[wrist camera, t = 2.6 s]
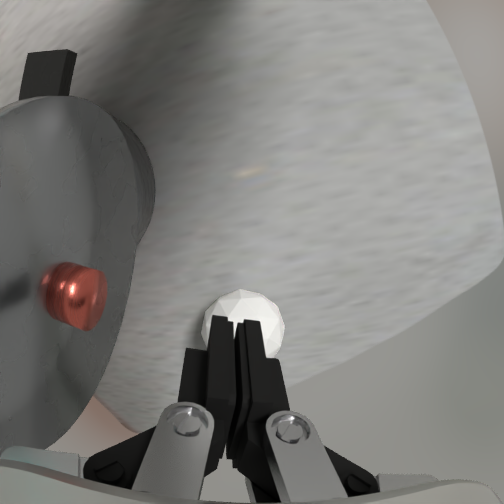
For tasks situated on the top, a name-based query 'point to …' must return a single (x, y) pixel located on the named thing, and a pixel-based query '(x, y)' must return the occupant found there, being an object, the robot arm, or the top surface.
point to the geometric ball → (248, 316)
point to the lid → (60, 260)
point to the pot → (58, 84)
